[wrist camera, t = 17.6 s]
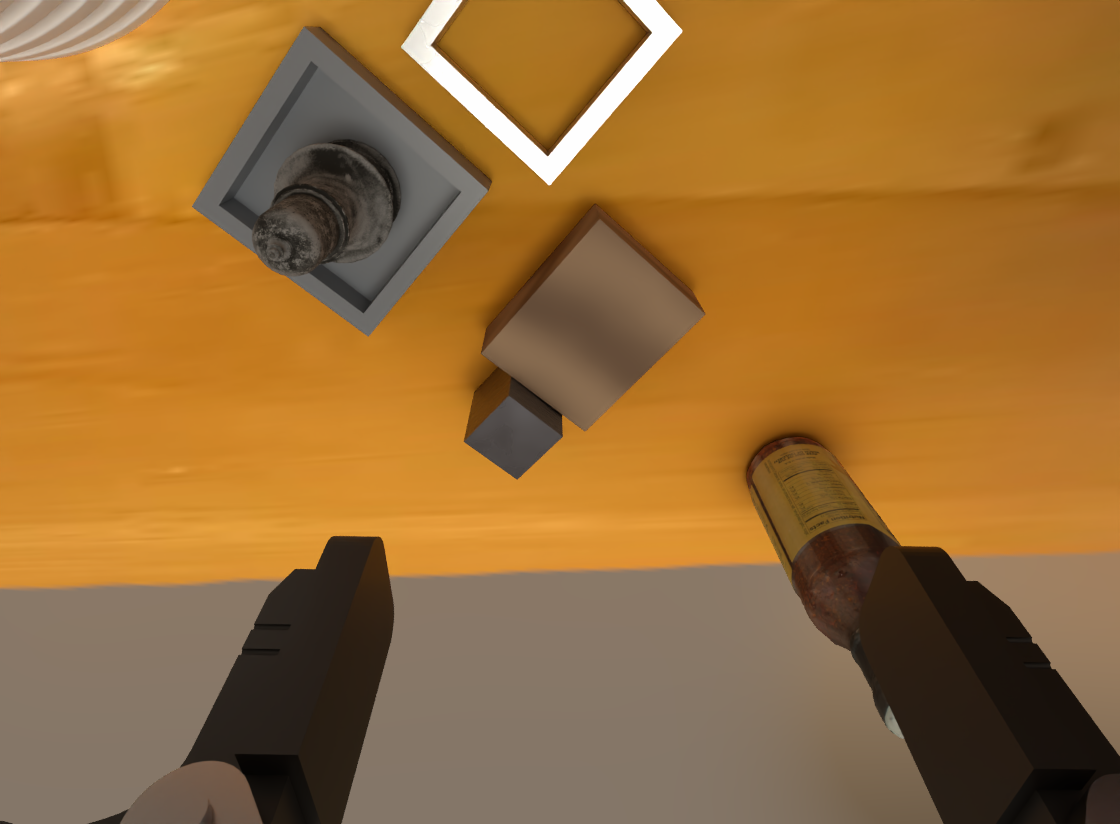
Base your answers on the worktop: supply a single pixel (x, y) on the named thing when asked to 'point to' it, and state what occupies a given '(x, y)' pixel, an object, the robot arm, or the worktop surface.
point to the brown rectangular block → (591, 320)
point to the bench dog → (511, 424)
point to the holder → (503, 125)
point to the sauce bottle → (822, 540)
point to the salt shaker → (327, 208)
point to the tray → (336, 114)
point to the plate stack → (67, 25)
